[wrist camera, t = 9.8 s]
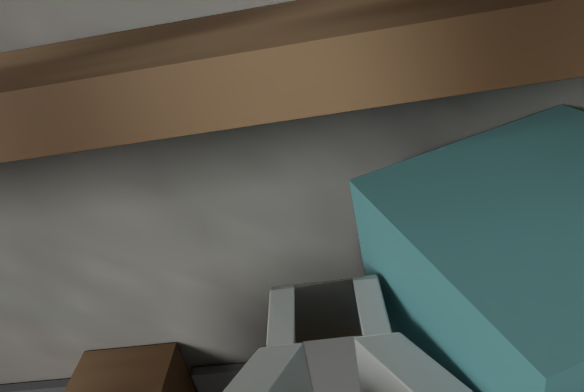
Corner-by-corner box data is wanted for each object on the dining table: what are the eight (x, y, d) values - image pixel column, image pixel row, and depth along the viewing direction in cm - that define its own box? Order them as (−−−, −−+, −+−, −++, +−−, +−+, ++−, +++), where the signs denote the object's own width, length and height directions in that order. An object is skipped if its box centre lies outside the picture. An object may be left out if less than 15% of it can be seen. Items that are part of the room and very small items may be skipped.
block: (561, 104, 10) (894, 215, 5) (544, 277, 12) (763, 446, 8) (349, 180, 9) (546, 378, 5) (378, 349, 11) (522, 577, 7)
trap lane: (1009, -126, 7) (1476, -153, 4) (709, 434, 16) (804, 556, 13) (-501, 141, 11) (-807, 227, 8) (-95, 486, 19) (-169, 592, 16)
